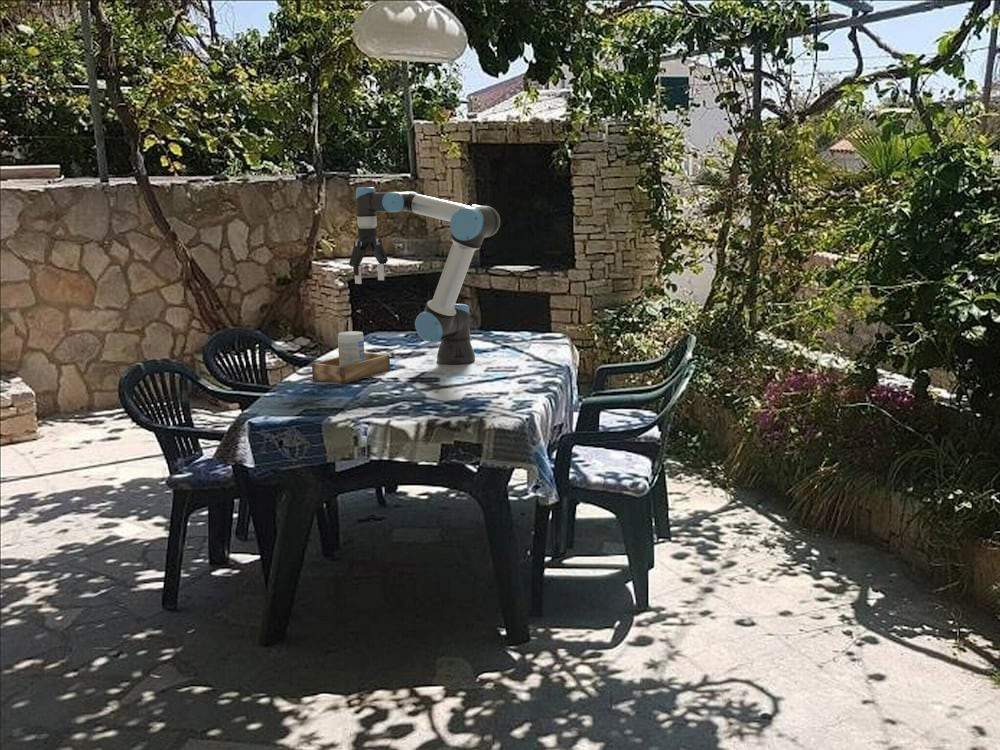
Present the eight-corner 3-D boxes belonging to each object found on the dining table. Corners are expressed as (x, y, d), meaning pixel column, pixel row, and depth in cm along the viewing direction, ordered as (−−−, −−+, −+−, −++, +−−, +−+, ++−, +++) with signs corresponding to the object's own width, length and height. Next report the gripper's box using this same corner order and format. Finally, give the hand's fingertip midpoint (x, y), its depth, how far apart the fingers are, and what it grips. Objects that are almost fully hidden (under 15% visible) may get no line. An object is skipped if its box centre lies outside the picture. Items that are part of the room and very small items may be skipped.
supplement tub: (366, 373, 325) (364, 334, 322) (340, 375, 323) (338, 335, 320) (364, 368, 334) (362, 330, 331) (338, 370, 332) (336, 331, 329)
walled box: (390, 370, 335) (389, 355, 334) (343, 383, 314) (342, 367, 313) (360, 366, 343) (359, 351, 342) (312, 379, 322) (311, 363, 321)
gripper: (380, 225, 356) (383, 278, 361) (338, 229, 336) (341, 284, 340) (395, 226, 352) (397, 279, 357) (352, 229, 332) (355, 285, 336)
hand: (369, 282), depth 348 cm, fingers open, 13 cm apart
